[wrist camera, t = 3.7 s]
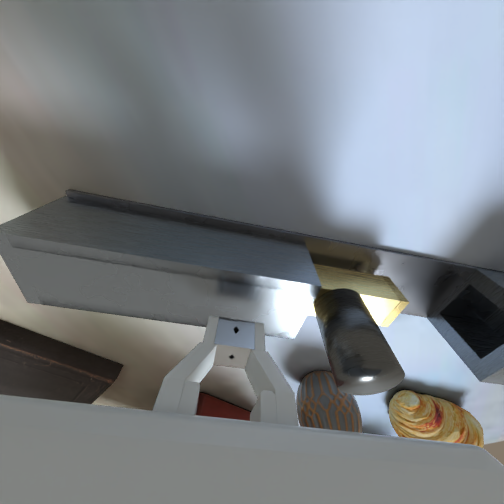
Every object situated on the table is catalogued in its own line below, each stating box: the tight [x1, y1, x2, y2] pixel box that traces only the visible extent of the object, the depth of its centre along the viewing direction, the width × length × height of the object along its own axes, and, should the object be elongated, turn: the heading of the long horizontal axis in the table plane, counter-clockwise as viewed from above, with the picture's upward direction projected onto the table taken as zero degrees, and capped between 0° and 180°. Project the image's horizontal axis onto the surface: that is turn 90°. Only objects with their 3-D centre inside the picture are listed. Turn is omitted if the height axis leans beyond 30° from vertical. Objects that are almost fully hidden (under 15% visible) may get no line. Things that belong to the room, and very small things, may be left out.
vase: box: [296, 371, 362, 433], centre depth 24 cm, size 7×7×9 cm
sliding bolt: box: [308, 264, 409, 395], centre depth 13 cm, size 22×3×7 cm, turn 79°
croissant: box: [389, 390, 484, 448], centre depth 30 cm, size 21×10×8 cm, turn 45°
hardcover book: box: [0, 320, 123, 404], centre depth 25 cm, size 16×23×2 cm
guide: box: [0, 190, 504, 385], centre depth 15 cm, size 36×6×6 cm, turn 79°
